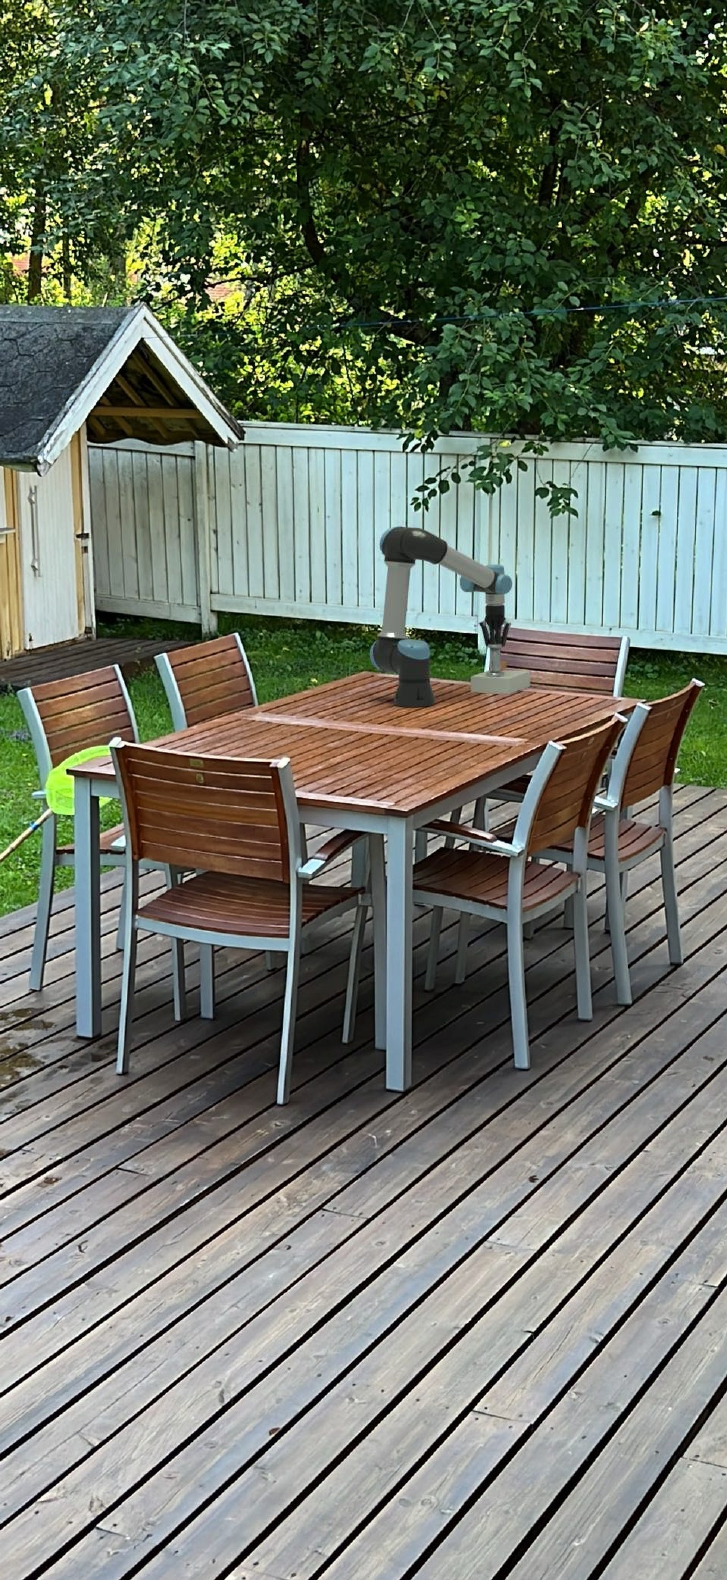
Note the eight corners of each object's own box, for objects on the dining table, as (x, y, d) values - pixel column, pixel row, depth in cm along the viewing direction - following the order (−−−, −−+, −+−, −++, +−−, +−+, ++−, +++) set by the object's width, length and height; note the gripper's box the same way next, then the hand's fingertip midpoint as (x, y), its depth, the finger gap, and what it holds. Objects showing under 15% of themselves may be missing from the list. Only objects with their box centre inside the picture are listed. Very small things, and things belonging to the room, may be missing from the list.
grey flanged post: (483, 684, 687) (483, 645, 684) (490, 681, 693) (490, 643, 690) (499, 685, 684) (499, 646, 681) (506, 682, 690) (506, 643, 687)
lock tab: (496, 672, 694) (496, 664, 694) (488, 671, 696) (488, 664, 696) (508, 668, 704) (508, 660, 704) (500, 667, 706) (500, 660, 705)
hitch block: (470, 692, 689) (470, 676, 688) (492, 684, 706) (492, 669, 705) (509, 694, 681) (509, 678, 680) (530, 686, 699) (529, 671, 697)
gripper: (475, 605, 699) (476, 665, 704) (506, 606, 693) (506, 666, 698) (483, 603, 705) (484, 662, 710) (514, 604, 699) (514, 664, 704)
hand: (495, 664), depth 704 cm, fingers closed
